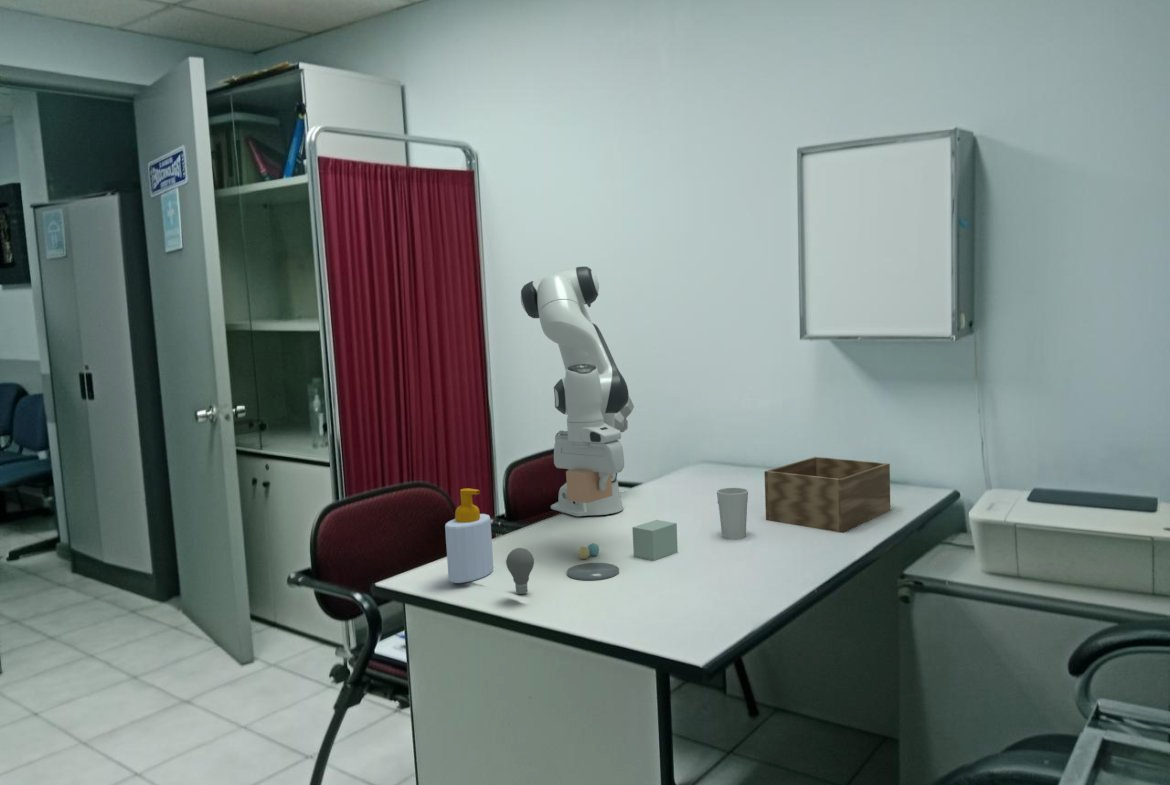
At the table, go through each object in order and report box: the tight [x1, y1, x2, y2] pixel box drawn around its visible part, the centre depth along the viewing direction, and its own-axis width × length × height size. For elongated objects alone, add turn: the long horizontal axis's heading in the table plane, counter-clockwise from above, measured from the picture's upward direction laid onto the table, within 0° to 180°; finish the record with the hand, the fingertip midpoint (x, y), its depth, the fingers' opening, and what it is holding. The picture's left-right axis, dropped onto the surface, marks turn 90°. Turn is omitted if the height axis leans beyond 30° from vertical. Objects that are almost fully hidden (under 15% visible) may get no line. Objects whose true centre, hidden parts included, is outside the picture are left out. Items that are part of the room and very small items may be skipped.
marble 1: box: [576, 546, 591, 560], centre depth 223 cm, size 3×3×3 cm
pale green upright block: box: [632, 519, 679, 561], centre depth 223 cm, size 6×9×7 cm
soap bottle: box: [444, 487, 494, 584], centre depth 213 cm, size 13×8×20 cm, turn 148°
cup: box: [716, 487, 749, 541], centre depth 236 cm, size 8×8×12 cm
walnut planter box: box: [763, 456, 891, 534], centre depth 250 cm, size 23×26×14 cm
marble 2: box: [586, 542, 600, 557], centre depth 225 cm, size 3×3×3 cm
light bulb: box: [505, 547, 535, 595], centre depth 198 cm, size 6×6×10 cm
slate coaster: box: [566, 562, 620, 582], centre depth 211 cm, size 12×12×1 cm
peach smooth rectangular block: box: [565, 469, 612, 503], centre depth 222 cm, size 6×9×7 cm
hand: (589, 488), depth 222 cm, fingers closed on peach smooth rectangular block, 6 cm apart
